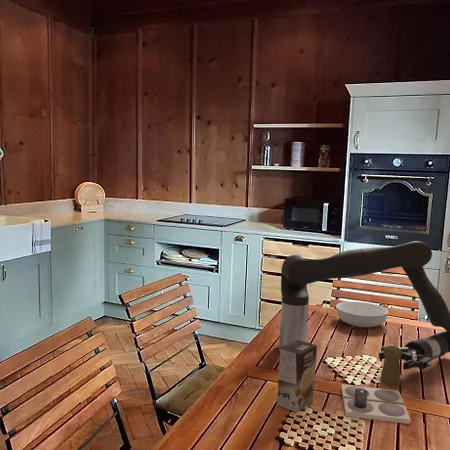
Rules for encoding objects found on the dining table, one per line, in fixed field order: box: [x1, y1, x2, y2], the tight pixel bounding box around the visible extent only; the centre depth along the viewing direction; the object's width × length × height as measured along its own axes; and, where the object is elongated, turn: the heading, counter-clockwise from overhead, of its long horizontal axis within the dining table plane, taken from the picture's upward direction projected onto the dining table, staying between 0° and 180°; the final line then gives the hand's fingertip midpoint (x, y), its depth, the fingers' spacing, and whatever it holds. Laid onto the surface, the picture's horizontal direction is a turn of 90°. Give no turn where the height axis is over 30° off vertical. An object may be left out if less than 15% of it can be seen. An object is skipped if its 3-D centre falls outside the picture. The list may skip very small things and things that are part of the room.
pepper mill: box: [379, 345, 402, 388], centre depth 143 cm, size 6×6×11 cm
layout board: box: [340, 383, 412, 425], centre depth 129 cm, size 16×16×1 cm
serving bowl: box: [335, 301, 389, 329], centre depth 197 cm, size 21×21×7 cm
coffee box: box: [276, 340, 318, 413], centre depth 128 cm, size 9×6×16 cm
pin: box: [354, 388, 368, 409], centre depth 126 cm, size 3×3×4 cm
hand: (391, 361), depth 143 cm, fingers open, 8 cm apart
